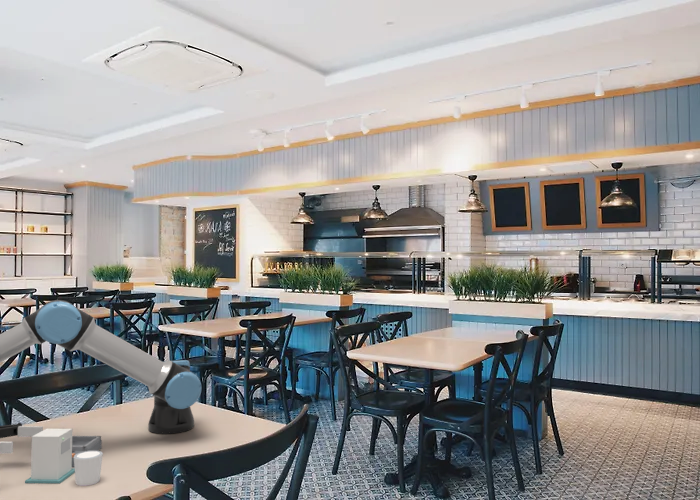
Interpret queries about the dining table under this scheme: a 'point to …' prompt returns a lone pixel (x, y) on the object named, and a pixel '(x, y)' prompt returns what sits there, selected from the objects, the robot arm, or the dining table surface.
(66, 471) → the block
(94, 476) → the white cup
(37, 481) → the mat
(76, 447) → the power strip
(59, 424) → the dining table surface
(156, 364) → the robot arm
